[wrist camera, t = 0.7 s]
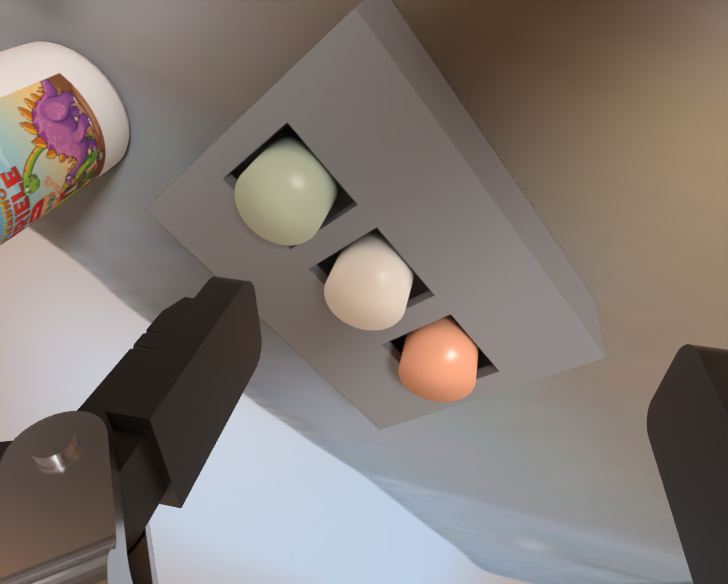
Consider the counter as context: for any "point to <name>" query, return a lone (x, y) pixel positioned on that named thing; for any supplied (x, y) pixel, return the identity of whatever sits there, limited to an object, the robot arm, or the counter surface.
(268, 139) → the button console
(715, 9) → the counter surface
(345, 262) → the off-white button
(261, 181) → the sage button
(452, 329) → the terracotta button
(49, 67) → the milk bottle
